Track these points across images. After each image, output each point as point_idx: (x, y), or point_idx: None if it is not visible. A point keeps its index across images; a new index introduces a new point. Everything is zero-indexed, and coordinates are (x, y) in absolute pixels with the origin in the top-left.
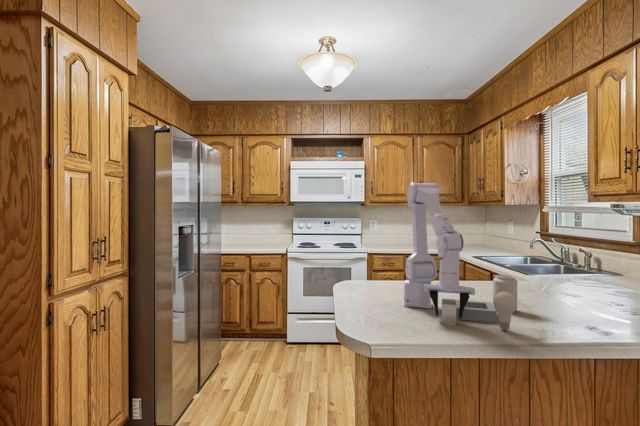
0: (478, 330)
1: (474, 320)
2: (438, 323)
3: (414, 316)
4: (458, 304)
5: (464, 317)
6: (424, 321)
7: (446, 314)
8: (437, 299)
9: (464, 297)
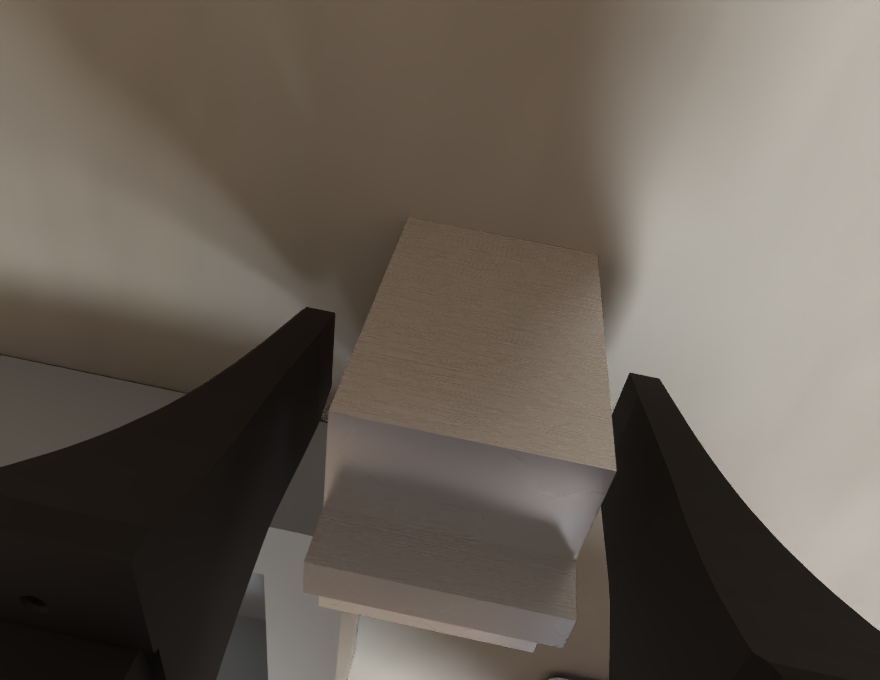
0: (114, 9)
1: (173, 394)
2: (643, 266)
3: (863, 499)
4: (291, 643)
5: None
6: (824, 331)
7: (532, 323)
8: (723, 584)
9: (51, 512)
